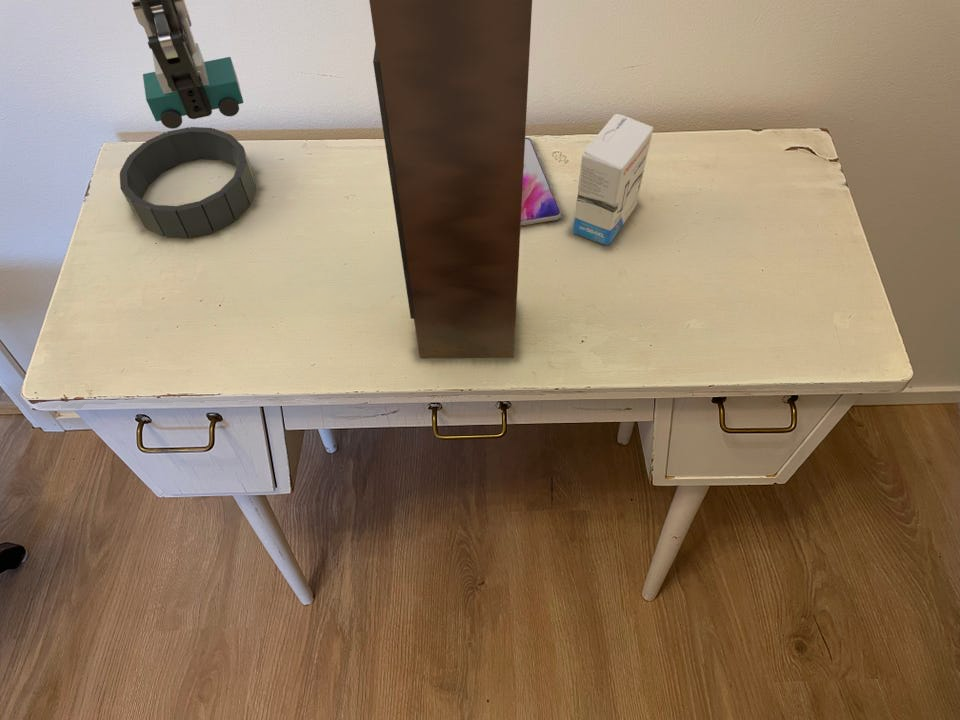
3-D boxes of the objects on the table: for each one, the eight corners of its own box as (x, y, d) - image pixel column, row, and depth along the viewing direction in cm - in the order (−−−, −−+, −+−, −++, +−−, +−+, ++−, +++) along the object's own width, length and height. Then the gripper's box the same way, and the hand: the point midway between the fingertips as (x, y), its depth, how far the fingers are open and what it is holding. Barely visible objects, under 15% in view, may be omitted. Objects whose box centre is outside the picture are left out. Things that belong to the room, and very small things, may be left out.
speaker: (416, 359, 77) (361, -14, 44) (419, 305, 81) (371, -73, 48) (513, 358, 77) (533, -15, 44) (512, 305, 81) (528, -75, 48)
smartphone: (530, 136, 95) (563, 215, 87) (530, 141, 96) (562, 220, 88) (476, 143, 94) (504, 224, 86) (476, 148, 95) (504, 229, 87)
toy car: (159, 131, 67) (137, 82, 62) (155, 101, 69) (133, 51, 65) (246, 113, 68) (230, 63, 64) (239, 83, 71) (223, 33, 66)
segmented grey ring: (138, 250, 86) (122, 223, 82) (132, 169, 94) (117, 141, 90) (263, 221, 88) (253, 194, 85) (246, 145, 96) (237, 117, 92)
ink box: (607, 248, 85) (622, 170, 76) (570, 232, 87) (580, 154, 77) (638, 204, 89) (656, 125, 80) (602, 189, 91) (615, 110, 81)
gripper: (66, -131, 57) (150, 65, 71) (70, -43, 49) (164, 157, 63) (164, -146, 58) (227, 50, 72) (182, -62, 51) (249, 138, 65)
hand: (197, 99), depth 68 cm, fingers closed on toy car, 4 cm apart
